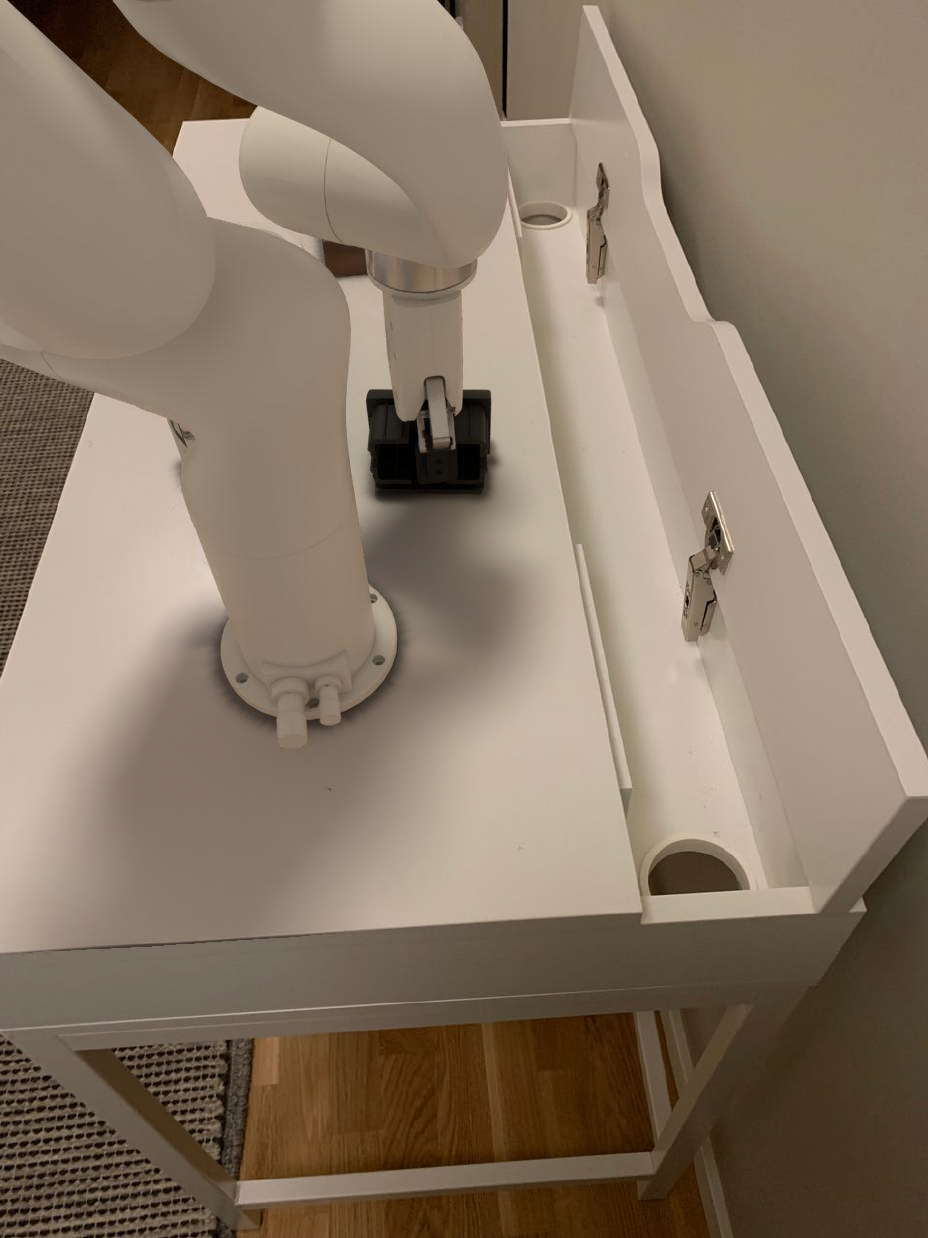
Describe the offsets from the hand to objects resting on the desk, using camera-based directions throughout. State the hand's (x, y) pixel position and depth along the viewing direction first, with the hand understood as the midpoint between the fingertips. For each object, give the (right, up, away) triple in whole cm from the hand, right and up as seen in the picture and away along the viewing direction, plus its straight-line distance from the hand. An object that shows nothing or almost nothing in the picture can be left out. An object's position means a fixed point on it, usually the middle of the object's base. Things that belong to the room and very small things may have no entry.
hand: (430, 442), depth 73 cm
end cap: (0, -2, +2) cm, 3 cm away
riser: (-6, +26, +22) cm, 35 cm away
